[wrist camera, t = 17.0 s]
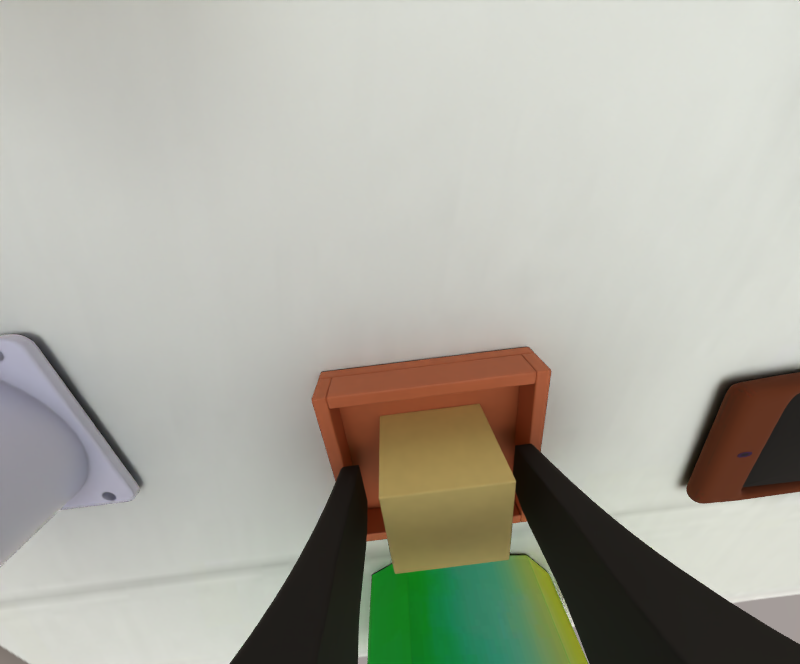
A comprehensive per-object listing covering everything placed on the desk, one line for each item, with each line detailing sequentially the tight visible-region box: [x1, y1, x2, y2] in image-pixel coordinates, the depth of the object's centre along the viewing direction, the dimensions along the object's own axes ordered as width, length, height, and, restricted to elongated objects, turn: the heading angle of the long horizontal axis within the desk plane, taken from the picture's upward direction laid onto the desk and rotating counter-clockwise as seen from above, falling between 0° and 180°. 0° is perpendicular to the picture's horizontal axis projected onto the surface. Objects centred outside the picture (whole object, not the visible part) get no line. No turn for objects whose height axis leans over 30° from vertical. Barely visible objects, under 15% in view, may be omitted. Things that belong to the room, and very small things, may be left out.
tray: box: [312, 347, 551, 541], centre depth 12 cm, size 8×8×2 cm
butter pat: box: [379, 404, 516, 574], centre depth 11 cm, size 4×4×4 cm
